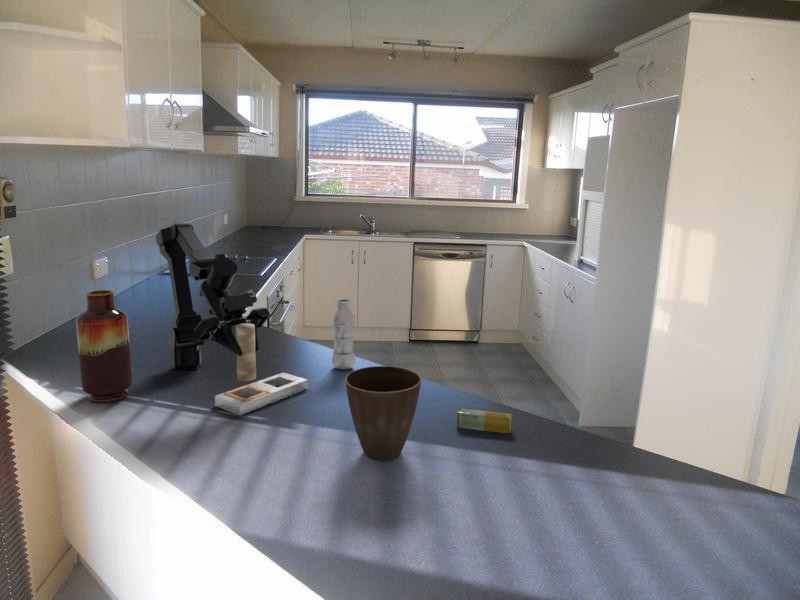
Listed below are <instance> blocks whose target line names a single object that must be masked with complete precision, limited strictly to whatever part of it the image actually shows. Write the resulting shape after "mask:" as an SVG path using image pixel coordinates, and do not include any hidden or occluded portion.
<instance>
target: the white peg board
mask: <svg viewBox="0 0 800 600" xmlns="http://www.w3.org/2000/svg"><path fill="white" fill-rule="evenodd" d="M279 385H280V386H279ZM276 386H278V387H276ZM305 389H306V390H308V389H309V379H306V378H303V377H301V376H297V375H294V374H290V373H286V372H281V373H278V374H275V375H272V376H269V377H266V378H263V379H260V380H258V381H254V382H252V383H249V384H246V385H243V386H240V387H239V386H238V387H237V388H234V389H232V390H231V389H230V390H228V391H226V392H222V393H219V394H216V395H214V406H215V407H217V408H220V409H223V410H225V411H228V412H230V413H233V414H235V415H238V416H243V415H244V414H247V413H250V412H252V410H253V411H254V410H257V409H260V408H263V407H265V406H268V405H271V404H273V403H275V402H279V401H280V399H281V400H284V399H286V398H288V396H289V397H291V396H294V395H296V394H298V392H299V393H301V392H304V391H306V390H305ZM303 390H304V391H303ZM293 394H294V395H293ZM270 403H271V404H270ZM267 404H268V405H267Z"/></svg>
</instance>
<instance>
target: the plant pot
mask: <svg viewBox="0 0 800 600" xmlns="http://www.w3.org/2000/svg"><path fill="white" fill-rule="evenodd" d="M344 380H345V388H346V394H347V395H346V396H347V401H348V406H349V410H350V414H351V418H352V423H353V426H354V429H355V432H356V436H357V437H358V441H359V443H360V447H361V449H362V451H363V454H364V455H365V457H367V458H368V459H370V460H372V461H377V462H378V461H379V462H388V461H389V462H390V461H393V460H395V459H397V458H399V457H400V456H401V454H402V451H403V449H404V447H405V444H406V441H407V439H408V436H409V433H410V431H411V428H412V425H413V420H414V417H415V413H416V409H417V406H418V401H419V395H420V390H421V384H422V378H421V376H420V375H419V373H417V372H415V371H413V370H411V369H407V368H403V367H400V366H399V367H398V366H389V365H388V366H387V365H381V366H380V365H379V366H368V367H362V368H358V369H355V370H353V371H351V372H349V373H348V374H347V375H346V376H345V378H344Z"/></svg>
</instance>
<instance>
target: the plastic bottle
mask: <svg viewBox="0 0 800 600" xmlns="http://www.w3.org/2000/svg"><path fill="white" fill-rule="evenodd" d="M336 307H337V309H336V310H335V312H334V313H333V315H332V319H331V322H332V327H333V338H334V339H333V340H334V341H333V353H332V358H331V363H332V366H333V367H334V369H337V370H350V369H352V368H353V367H354V366H355V363H356V361H355V360H356V357H355V352H354V330H355V322H356V318H355V315H354V313H353V311H352V310H351V300H350V299H348V298H341V299H337V300H336Z"/></svg>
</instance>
